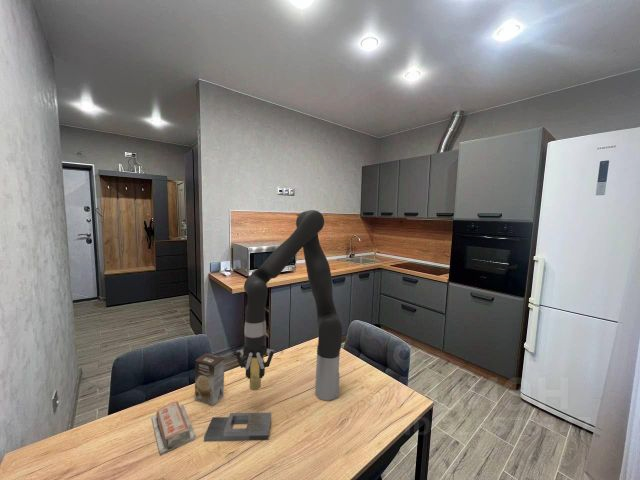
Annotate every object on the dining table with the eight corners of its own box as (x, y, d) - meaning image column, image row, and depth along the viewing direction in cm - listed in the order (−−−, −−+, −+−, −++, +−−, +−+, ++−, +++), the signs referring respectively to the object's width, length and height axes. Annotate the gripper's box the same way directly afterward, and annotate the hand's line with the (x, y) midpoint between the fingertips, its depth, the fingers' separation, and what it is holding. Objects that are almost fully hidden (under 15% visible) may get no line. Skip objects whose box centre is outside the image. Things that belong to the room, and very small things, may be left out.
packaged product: (196, 426, 83) (159, 442, 76) (196, 440, 83) (159, 457, 77) (183, 394, 96) (151, 406, 90) (183, 407, 97) (151, 419, 90)
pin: (261, 383, 98) (261, 352, 97) (260, 390, 94) (260, 358, 93) (250, 383, 98) (250, 352, 97) (248, 390, 94) (248, 358, 93)
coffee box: (193, 400, 100) (193, 359, 99) (206, 390, 106) (206, 352, 105) (213, 406, 97) (213, 365, 96) (224, 395, 103) (225, 356, 102)
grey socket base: (271, 420, 92) (271, 412, 91) (268, 439, 84) (268, 430, 83) (212, 421, 90) (212, 413, 90) (203, 441, 82) (204, 432, 82)
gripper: (276, 327, 99) (275, 370, 100) (237, 327, 98) (237, 371, 99) (274, 336, 91) (273, 383, 93) (232, 337, 90) (232, 384, 92)
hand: (255, 376), depth 96 cm, fingers closed on pin, 4 cm apart
